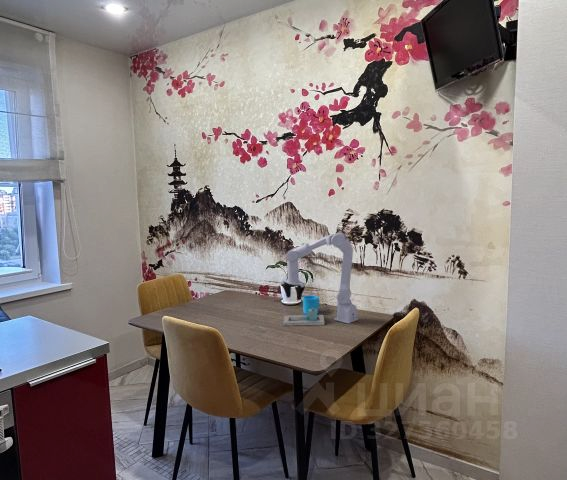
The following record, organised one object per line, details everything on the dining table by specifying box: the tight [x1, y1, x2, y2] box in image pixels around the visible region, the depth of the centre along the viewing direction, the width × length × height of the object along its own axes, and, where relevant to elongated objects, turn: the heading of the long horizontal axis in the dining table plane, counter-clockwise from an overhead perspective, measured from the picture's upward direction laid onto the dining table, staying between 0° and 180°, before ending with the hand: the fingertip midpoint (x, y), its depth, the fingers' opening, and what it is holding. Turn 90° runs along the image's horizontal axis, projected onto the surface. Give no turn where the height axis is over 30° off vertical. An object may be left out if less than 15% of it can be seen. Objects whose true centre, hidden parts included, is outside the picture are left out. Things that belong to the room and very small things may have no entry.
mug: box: [302, 294, 320, 315], centre depth 217 cm, size 12×8×8 cm
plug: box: [308, 308, 318, 321], centre depth 200 cm, size 4×4×7 cm
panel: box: [283, 314, 325, 327], centre depth 200 cm, size 20×11×2 cm, turn 87°
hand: (293, 298), depth 207 cm, fingers open, 7 cm apart
